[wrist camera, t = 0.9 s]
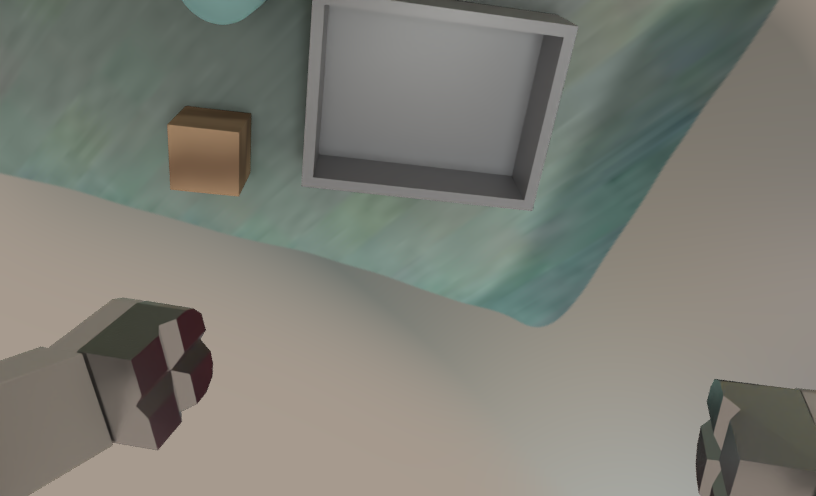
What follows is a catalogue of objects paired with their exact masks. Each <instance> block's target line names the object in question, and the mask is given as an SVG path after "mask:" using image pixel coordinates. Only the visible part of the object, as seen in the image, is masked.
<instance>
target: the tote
mask: <svg viewBox="0 0 816 496" xmlns="http://www.w3.org/2000/svg"><path fill="white" fill-rule="evenodd" d="M578 27H579V26H577V25H575V24H573V23H571V22H569V21H568V20H566V19H564V18H562V17H560V16H559V15H556V14H549V13H542V12H535V11H527V10H520V9H513V8H506V7H499V6H492V5H485V4H478V3H471V2H463V1H456V0H312V14H311V31H310V48H309V65H308V82H307V99H306V116H305V133H304V151H303V168H302V185H301V186H304V187H313V188H322V189H332V190H341V191H350V192H360V193H369V194H379V195H388V196H397V197H407V198H416V199H425V200H435V201H444V202H453V203H463V204H472V205H481V206H491V207H500V208H510V209H519V210H528V211H532V210H533V206H534V202H535V198H536V194H537V190H538V186H539V182H540V178H541V174H542V170H543V166H544V162H545V158H546V154H547V150H548V146H549V142H550V138H551V134H552V130H553V126H554V122H555V118H556V114H557V110H558V106H559V102H560V98H561V94H562V90H563V86H564V82H565V78H566V74H567V70H568V67H569V63H570V59H571V55H572V51H573V47H574V43H575V39H576V35H577V31H578Z"/></svg>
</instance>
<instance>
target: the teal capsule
mask: <svg viewBox="0 0 816 496" xmlns="http://www.w3.org/2000/svg"><path fill="white" fill-rule="evenodd" d="M182 1H183V3H184V4H185V5H186V6H187V8H188V9H189V10H190V11H191V12H193V13H194V14H195V15H196V16H198V17H199V18H201V19H203V20H205V21H207V22H210V23H214V24H220V25H227V24H233V23H236V22H239V21H241V20H243V19H244V18H246V17H247V16H248V15H250V14H251V13H252V12H253V11H255V10H256V9H257V8H259V7H260V6H261V5H262V4H264V3H265V2H266V1H268V0H182Z"/></svg>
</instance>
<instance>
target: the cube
mask: <svg viewBox="0 0 816 496" xmlns="http://www.w3.org/2000/svg"><path fill="white" fill-rule="evenodd" d="M167 128H168V149H169V170H170V190H180V191H190V192H200V193H210V194H220V195H229V196H239V195H240V193H241V191H242V189H243V187H244V185H245V183H246V181H247V178H248V176H249V174H250V160H251V113H243V112H234V111H225V110H217V109H208V108H200V107H191V106H185V107H184V108H183V109H182V110H181V111H180V112H179V113H178V114H177V115H176V116H175V117H174V118H173V119H172V120H171V121H170V122H169V123H168V124H167Z"/></svg>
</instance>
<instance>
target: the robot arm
mask: <svg viewBox="0 0 816 496" xmlns="http://www.w3.org/2000/svg"><path fill="white" fill-rule="evenodd" d="M205 331H206V329H205V325H204V321H203V317H202V314H201V313H200V312H198V311H197V310H195V309H193V308H187V307H181V306H175V305H169V304H162V303H156V302H149V301H142V300H135V299H128V298H118V299H112V300H111V301H110V302H109V303H107V304H106V305H105V306H103V307H102V308H100V309H99V310H98V311H96V312H95V313H94V314H92V315H91V316H90V317H88V318H87V319H86V320H84V321H83V322H82V323H81V324H79V325H78V326H77V327H75V328H74V329H73V330H71V331H70V332H69V333H67V334H66V335H65V336H63V337H62V338H61V339H59V340H58V341H57V342H55V343H54V344H53V345H51V346H50V347H49V348H44V347H39V348H36V349H33V350H30V351H27V352H24V353H21V354H18V355H15V356H13V357H10V358H7V359H4V360H1V361H0V496H29V495H30V494H32V493H34V492H35V491H37V490H39V489H40V488H42V487H43V486H45V485H47V484H49V483H50V482H52V481H54V480H55V479H57V478H59V477H60V476H62V475H64V474H65V473H67V472H69V471H71V470H72V469H74V468H76V467H77V466H79V465H80V464H82V463H84V462H86V461H87V460H89V459H91V458H92V457H94V456H96V455H97V454H99V453H101V452H102V451H104V450H105V449H107V448H109V447H111V446H112V445H113V443H118V444H123V445H130V446H135V447H141V448H147V449H153V450H158V449H159V448H160V447H161V446H162V445H163V444H164V442H165V441H166V440H167V439H168V438H169V436H170V435H171V434H172V433H173V432H174V431H175V430H176V428H177V427H178V426H179V425H180V424H181V422H182V413H181V412H182V411H184V410H186V409H188V408H190V407H192V406H194V405H196V404H197V403H198V402H199V401H200V400H201V398H202V397H203V396H204V395H205V393H206V392H207V390H208V387H209V384H210V381H211V379H212V374H213V361H212V356H211V351H210V350H209V349H208V348H207V347H206V345H205V344H204V343H203V342H202V341H201V337H202V336H203V334H204V332H205ZM707 405H708V410H709V415H710V420H709V421H708V422H706V423H705V424H703V425H702V426H701V428H700V433H699V438H698V443H697V453H696V477H697V485H698V491H699V494H700V495H701V496H816V390H810V389H800V388H795V389H790V388H781V387H774V386H767V385H759V384H751V383H743V382H735V381H727V380H719V379H714V381H713V383H712V385H711V387H710V391H709V395H708V399H707Z"/></svg>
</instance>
